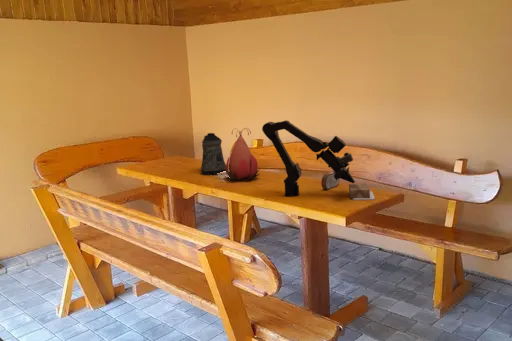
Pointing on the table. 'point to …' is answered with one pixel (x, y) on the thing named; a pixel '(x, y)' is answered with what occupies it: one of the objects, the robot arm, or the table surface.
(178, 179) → the table surface
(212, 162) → the beer stein
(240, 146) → the decorative flower
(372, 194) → the mat
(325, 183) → the tin
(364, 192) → the walnut board
